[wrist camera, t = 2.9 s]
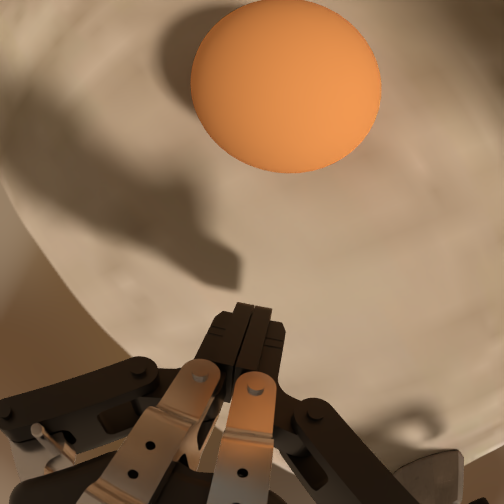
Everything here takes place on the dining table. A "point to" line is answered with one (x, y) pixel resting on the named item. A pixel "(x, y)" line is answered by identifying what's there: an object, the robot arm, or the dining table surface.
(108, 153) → the dining table surface
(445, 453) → the coffeepot
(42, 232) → the dining table surface
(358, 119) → the ball
